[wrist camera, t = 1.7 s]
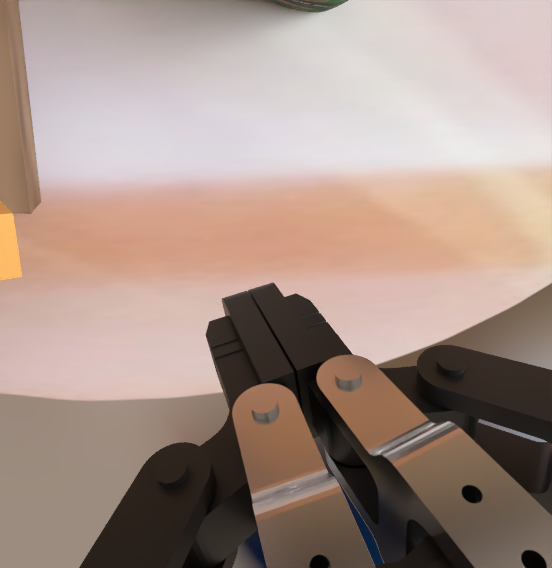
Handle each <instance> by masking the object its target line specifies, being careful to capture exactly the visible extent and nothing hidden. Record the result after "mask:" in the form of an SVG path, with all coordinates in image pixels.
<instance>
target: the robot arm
mask: <svg viewBox="0 0 552 568" xmlns="http://www.w3.org/2000/svg"><path fill="white" fill-rule="evenodd" d="M222 303H223V308H224V311H225V315H226V316H225V317H222V318H219V319H216V320H213V321H210V322H209V325H208V329H207V332H206V338H207V341H208V344H209V348H210V351H211V355H212V358H213V361H214V365H215V368H216V372H217V375H218V378H219V381H220V384H221V387H222V389H223V392H224V395H225V398H226V401H227V404H228V407H229V410H230V411H229V416H228V418H227V421H226V422H225V424H224V426H223V427H222V428H221V430H220V431H219V432H218V433H217V434H216V435H214V436H213V437H212V438H211V439H209V440H208V441H206V442H205V443H204V444H202V445H201V446H200V447H199V446H197V445H195V444H192V443H186V442H184V443H176V444H172V445H169V446H166V447H164V448H162V449H160V450H159V451H157V452H156V453H155V454H153V455H152V456H151V457H150V458H149V459H148V461H146V463H145V464H144V465H143V467H142V468H141V470H140V472H139V473H138V475H137V476H136V478H135V480H134V481H133V483H132V484H131V486H130V488H129V489H128V491H127V492H126V494H125V496H124V497H123V499H122V500H121V502H120V504H119V505H118V507H117V508H116V510H115V512H114V513H113V515H112V516H111V518H110V520H109V521H108V523H107V524H106V526H105V528H104V529H103V531H102V532H101V534H100V536H99V537H98V539H97V540H96V542H95V543H94V545H93V547H92V548H91V550H90V552H89V553H88V555H87V556H86V558H85V559H84V561H83V563H82V564H81V566H80V568H232V567H233V564H234V561H235V559H236V555H237V551H238V546H239V545H240V544H242V543H243V542H244V541H245V540H246V539H247V538H248V537H249V536H250V535H252V534H253V533H254V532H255V531H256V530H257V529H258V531H259V535H260V540H261V544H262V548H263V553H264V557H265V561H266V565H267V568H552V370H549V369H545V368H541V367H537V366H533V365H529V364H526V363H522V362H518V361H513V360H509V359H506V358H502V357H498V356H494V355H489V354H485V353H482V352H478V351H474V350H470V349H466V348H462V347H457V346H452V345H440V346H434V347H431V348H429V349H427V350H425V351H424V352H423V353H422V354H421V355H420V356H419V358H418V361H417V366H412V367H401V368H378V367H377V366H376V365H375V364H374V363H372V362H371V361H370V360H368V359H366V358H364V357H361V356H357V355H353V354H352V353H351V351H350V350H349V349H348V348H347V346H346V345H345V344H344V343H343V341H342V340H341V339H340V338H339V336H338V335H337V334H336V333H335V331H334V330H333V329H332V327H331V326H330V325H329V324H328V322H327V323H326V320H325V319H324V317H323V316H322V315H321V314H319V311H318V310H317V308H316V307H315V306H314V305H313V303H312V302H311V301H310V300H308V299H306V298H304V297H302V296H300V295H298V294H293V295H290V296H287V297H284V296H283V295H282V293H281V292H280V291H279V289H278V288H277V286H276V285H275V284H274V283H270V284H267V285H263V286H260V287H257V288H254V289H251V290H248V291H244V292H241V293H238V294H235V295H232V296H228V297H225V298H222ZM479 419H482V420H485V421H488V422H492V423H494V424H498V425H500V426H503V427H506V428H510V429H513V430H516V431H519V432H522V433H525V434H528V435H531V436H534V437H538V438H541V439H543V440H545V441H547V442H536V441H532V440H529V439H526V438H523V437H520V436H517V435H514V434H511V433H508V432H505V431H502V430H499V429H496V428H493V427H490V426H487V425H484V424H481V423H478V420H479ZM318 436H319V437H320V439H321V441H322V443H323V444H324V446H325V450H326V459H327V463H328V465H329V467H330V468H331V470H332V471H333V473H334V474H335V476H336V478H337V479H338V481H339V482H340V484H341V486H342V487H343V489H344V490H345V492H346V493H347V495H348V496H349V498H350V500H351V501H352V503H353V504H354V506H355V507H356V509H357V511H358V512H359V514H360V515H361V517H362V518H363V520H364V522H365V523H366V525H367V526H368V528H369V529H370V531H371V533H372V535H373V537H374V539H375V541H376V543H377V546H378V549H379V552H380V555H381V557H382V560H383V562H384V564H380V565H374V563H373V561H372V558H371V556H370V554H369V551H368V549H367V547H366V544H365V542H364V540H363V538H362V535H361V533H360V531H359V528H358V526H357V524H356V522H355V519H354V517H353V515H352V512H351V510H350V508H349V506H348V503H347V501H346V499H345V496H344V494H343V492H342V490H341V488H340V486H339V484H338V481H337V480H336V478H335V477H334V475H332V474H331V475H329V473H328V472H327V470H326V467H325V465H324V463H323V460H322V458H321V456H320V453H319V451H318V449H317V446H316V444H315V441H314V439H313V438H315V437H318Z"/></svg>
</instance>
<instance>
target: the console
mask: <svg viewBox="0 0 552 568" xmlns="http://www.w3.org/2000/svg"><path fill="white" fill-rule="evenodd" d="M0 201H1V202H2V203H3V204H4V205H5V206H6V207H7V208H8V209H9V210H10V211H11V212H12V213H24V214H31V213H32V212H33V210H34V209H35V208H36V207H37V206H38V205H39V204H40V202H41V197H40V188H39V180H38V171H37V162H36V154H35V145H34V136H33V127H32V119H31V110H30V101H29V93H28V84H27V75H26V67H25V58H24V49H23V40H22V32H21V23H20V14H19V6H18V0H0Z"/></svg>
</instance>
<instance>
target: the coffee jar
mask: <svg viewBox="0 0 552 568" xmlns="http://www.w3.org/2000/svg"><path fill="white" fill-rule="evenodd" d="M271 1H274V2H277V3H279V4H282V5H285V6H288V7H291V8H295V9H299V10H304V11H309V12H323V11H327V10H329V9H332V8H335V7H337V6H339V5H341V4H343V3H345V2H346V1H348V0H271Z"/></svg>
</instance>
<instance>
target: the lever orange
mask: <svg viewBox="0 0 552 568" xmlns="http://www.w3.org/2000/svg"><path fill="white" fill-rule="evenodd" d="M16 277H22V272H21V265H20V258H19V251H18V244H17V238H16V231H15V224H14V217H13V213H12V212H11V211H10V210H9V209H8V208H7V207H6V206H5V205H4V204H3V203H2V202H1V201H0V280H5V279H11V278H16Z"/></svg>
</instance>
